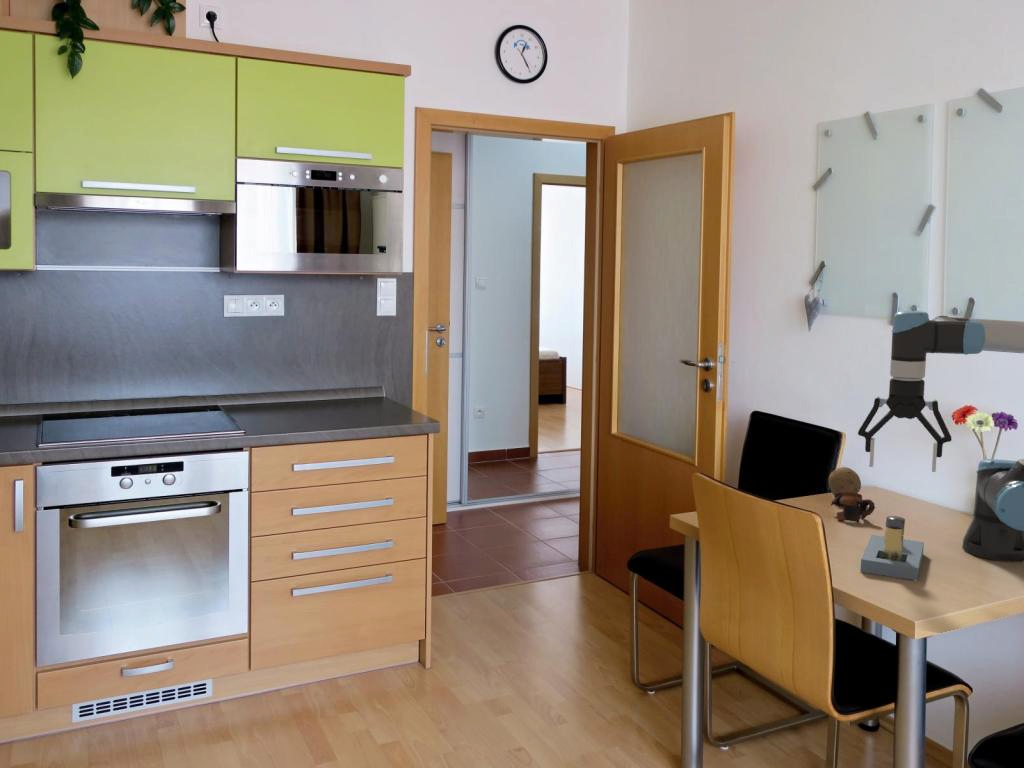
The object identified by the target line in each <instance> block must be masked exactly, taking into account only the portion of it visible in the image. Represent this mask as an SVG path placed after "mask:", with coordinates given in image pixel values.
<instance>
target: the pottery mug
mask: <svg viewBox="0 0 1024 768" xmlns="http://www.w3.org/2000/svg"><path fill="white" fill-rule="evenodd" d="M833 496H834V498H833V499H832V502H831V503H830V506H837V507H839V508H843V510H842V511H838V512H836V517H837V521H849V522H854V523H860V519H863V520H864V519H865V518H867V517H868V516H871V514H873V512H874V510H875V509H876V507H875V502H874V501H872V500H871V499H863V495H862V494H861V493H859V492H858V493H853V492H841V493H837V494H835V495H833ZM867 507H868V508H867Z"/></svg>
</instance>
